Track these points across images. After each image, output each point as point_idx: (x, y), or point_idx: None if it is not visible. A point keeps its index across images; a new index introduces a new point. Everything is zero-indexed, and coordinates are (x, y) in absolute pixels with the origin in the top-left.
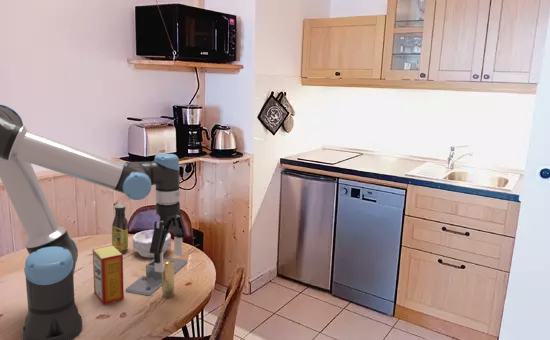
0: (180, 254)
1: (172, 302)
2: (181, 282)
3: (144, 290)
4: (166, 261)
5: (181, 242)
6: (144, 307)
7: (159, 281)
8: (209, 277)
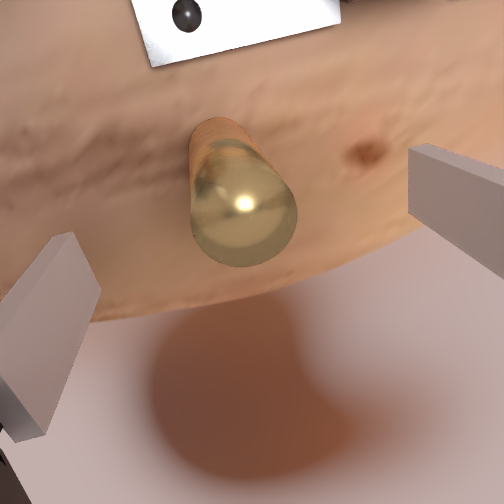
0: (416, 207)
1: (176, 214)
2: (364, 113)
3: (156, 9)
4: (243, 204)
5: (499, 274)
6: (50, 136)
7: (300, 8)
8: None
